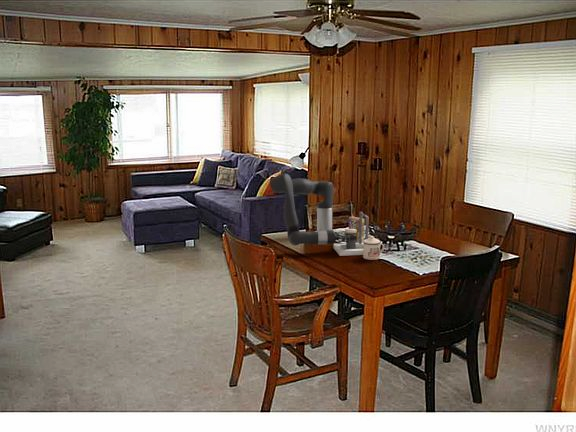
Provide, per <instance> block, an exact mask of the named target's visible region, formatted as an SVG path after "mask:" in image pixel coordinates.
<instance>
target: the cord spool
mask: <svg viewBox="0 0 576 432" xmlns="http://www.w3.org/2000/svg"><path fill="white" fill-rule="evenodd" d="M344 232H346V236H356V233H357V230H356V229H349V228H347V229H345V230H344ZM346 239H347V238H346ZM345 243H346V249H356V240H350V241H349V242H345ZM346 249H344V250H346Z"/></svg>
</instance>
